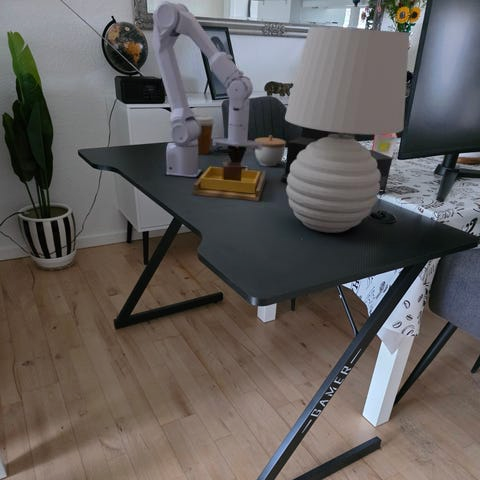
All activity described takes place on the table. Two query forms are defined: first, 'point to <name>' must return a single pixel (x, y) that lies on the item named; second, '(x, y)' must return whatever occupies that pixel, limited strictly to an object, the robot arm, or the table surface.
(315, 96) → the table lamp
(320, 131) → the bookend
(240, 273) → the table surface
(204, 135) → the disposable coffee cup
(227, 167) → the block
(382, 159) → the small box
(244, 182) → the tray
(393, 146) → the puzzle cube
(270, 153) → the trinket box
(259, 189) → the board
